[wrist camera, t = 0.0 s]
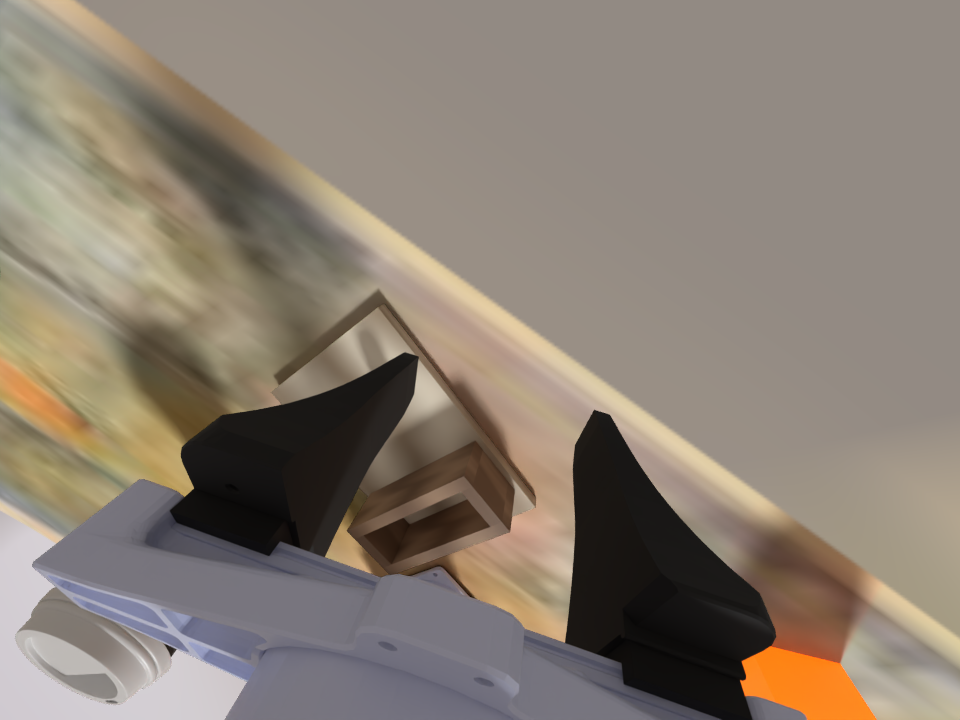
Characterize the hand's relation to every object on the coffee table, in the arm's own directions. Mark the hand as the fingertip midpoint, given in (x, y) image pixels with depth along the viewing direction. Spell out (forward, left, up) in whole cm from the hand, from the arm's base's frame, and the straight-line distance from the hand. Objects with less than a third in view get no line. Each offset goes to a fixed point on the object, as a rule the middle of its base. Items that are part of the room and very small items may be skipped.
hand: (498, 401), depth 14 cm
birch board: (-14, -3, -11) cm, 18 cm away
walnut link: (-14, -8, -10) cm, 19 cm away
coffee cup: (-33, 0, -11) cm, 35 cm away
